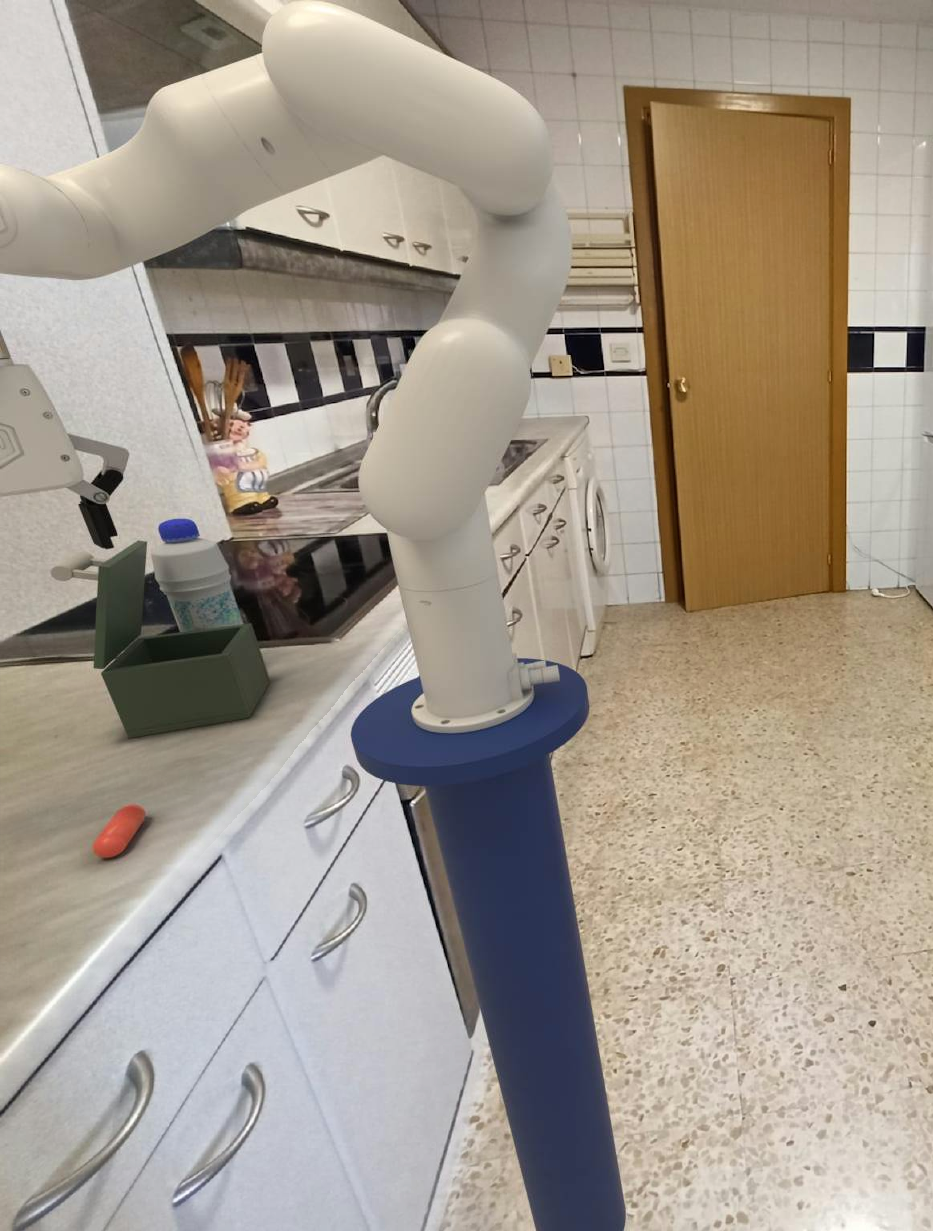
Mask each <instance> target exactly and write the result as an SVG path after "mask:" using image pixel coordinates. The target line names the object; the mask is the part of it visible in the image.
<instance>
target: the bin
mask: <svg viewBox="0 0 933 1231" xmlns="http://www.w3.org/2000/svg"><path fill="white" fill-rule="evenodd" d="M255 633H256V632H255V630H254V627H253V623H251V622H250V623H243V624H241V625H234V626H226V627H218V628H210V629H203V630H195V631H187V632H180V631H179V632H171V633H164V634H157V635H156V634H155V635H150V636H148V635H147V636H139V637H137V638H136V639H135V640H134V641H133V642H132V643H131V644H130V645H129V646H128V647H127V648H126V649H125V650H124V651H122V652H121V653H120V654H119V655H118V656H117V657H116V658H115V659H114V660H113V661H112V662H111V663H110V664H109V665H107V666H106V667H105V668H104V669H103V670H102V671H101V672H100V675H101V677H102V680H103V682H104V684H105V687H106V689H107V691H108V694H109V696H110V699H111V701H112V703H113V705H114V707H115V710H116V712H117V715H118V716H119V719H120V721H121V725H122V727H123V728H124V731H125V733H126V736H127V738H128V739H133V738H139V737H146V736H150V735H156V734H162V733H169V732H175V731H180V730H185V729H191V728H198V727H203V726H210V725H215V724H221V723H226V722H233V721H240V720H245V719H250V717H251V715H252V714H253V713H254V710H255V709H256V707H257V705H258V704H259V702H260V700H261V698H262V697H263V695H264V693H265V692H266V690H267V688H268V686H269V684H270V683H271V679H270V678H271V677H270V676H269V672H268V668H267V667H266V664H265V661H264V657H263V655H262V650H261V648H260V645H259V643H258V639H257V636H256V634H255Z"/></svg>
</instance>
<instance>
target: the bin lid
mask: <svg viewBox="0 0 933 1231" xmlns="http://www.w3.org/2000/svg"><path fill="white" fill-rule="evenodd" d="M147 550H148V542H147V541H146V540H136V541H134V542H133V543H131V544H129V546H127V547H126V548H124V549H122V550H121V551H119V552H117V553H116V554H115V555H113V556H112V557H110V558H108V559H103V558H98V557H97V558H96V557H94V556H93V555H92V554H91V553H89V552H86V551H79V552H77V553H74V554H73V555H72V556H70V557H69V558H66V559H65V560H63V561H62V562H59V563H58V564H56V565H55V566H53V567H52V568H51V569H50V572H49V574H50V576H51V577H52V578H53V579H54V580H56V581H59V582H67V581H69V580H71V579H73V578H74V579H82V580H90V581H97V587H96V588H97V589H96V609H95V628H94V647H93V648H94V650H93V667H92V668H93V669H96V670H104V669H106V668H107V667H108V666H109V665H110V664H111V663H112V662H113V661H114V660H115V659H116V658H117V657H118V656H119V655H120V654H122V653H123V652H124V651H125V650H126V649H127V648H128V647H129V646H130V645H131V644H132V643H133V642H134V641H136V639H138V638H140V637H141V635H142V626H143V610H144V597H145V596H144V595H145V579H146V567H147V553H148V552H147ZM90 567H97V568H98V570H97V571H93V570H92V571H90V570H87V569H88V568H90Z"/></svg>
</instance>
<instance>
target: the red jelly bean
mask: <svg viewBox="0 0 933 1231" xmlns="http://www.w3.org/2000/svg"><path fill="white" fill-rule="evenodd" d="M145 818H146V811H145V809H144V807H142V806H140V805H138V804H128V805H125V806H122V807H120V808H119V809H118V810H116V812H115V813H114V815H113V816H112V817H111V819H110V820H109V821H108V823H107V824H106V826H105V827H104V828H103V830H101V833H100V834H99V835H98V837H97V838H96V839H95V841H94V842H93V844H92V851H93V854H94V855H95V856H97V857H99V858H103V859H111V858H114V857H116V856H119V855H120V854H121V853H123V852H124V850H125V849H126V847H127V846H128V845H129V843H130V842H131V840H132V839H133V837H134V836H135V834H136V833H137V832H138V829H139V828H140V827H141V825H142V824H143V823H144V821H145Z"/></svg>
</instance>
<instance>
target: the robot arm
mask: <svg viewBox="0 0 933 1231" xmlns="http://www.w3.org/2000/svg"><path fill="white" fill-rule="evenodd" d="M261 38H262V39H261V52H260V53H258V54H255V55H253V56H249V57H246V58H244V59H241V60H238V61H235V62H232V63H229V64H227V65H224V66H221V67H218V68H215V69H212V70H209V71H207V72H204V73H201V74H198V75H195V76H192V77H189V78H186V79H183V80H180V81H177V82H174V83H171V84H168V85H166V86H164V87H163V86H162V87H161V88H160V89H159V90H158V91H156V92H155V93H154V95H153V96H152V97H151V99H150V100H149V102H148V104H147V107H146V112H145V115H144V119H143V122H142V124H141V126H140V128H139V130H137V132H136V133H135V135H133V137H132V138H131V139H129V140H128V141H127V142H125V143H124V144H122V145H121V146H120V147H118V148H116V149H114V150H112V151H109V152H108V153H105V154H104V155H102V156H99V157H97V158H94V159H92V160H89V161H87V162H84V163H81V164H79V165H76V166H73V167H70V168H68V169H67V168H66V169H64V170H62V171H59V172H56V173H53V174H51V175H46V176H43V175H40V174H37V173H35V172H30V171H27V170H23V169H20V168H16V167H13V166H10V165H7V164H4V163H0V274H3V275H11V276H18V277H19V276H20V277H30V278H39V279H40V278H42V279H43V278H44V279H45V278H46V279H58V280H65V281H87V280H95V279H98V278H102V277H105V276H108V275H111V274H115V273H118V272H120V271H123V270H126V269H128V268H131V267H134V266H136V265H138V264H141V263H143V262H146V261H149V260H151V259H153V258H156V257H158V256H161V255H163V254H166V253H169V252H171V251H173V250H175V249H178V248H179V247H182V246H184V245H186V244H189V243H190V242H192V241H194V240H196V239H198V238H200V237H202V236H204V235H206V234H207V233H210V232H211V231H213V230H214V229H217V228H219V227H221V226H223V225H225V224H228V223H230V222H232V221H234V220H236V219H237V218H238V217H240V216H241V215H242V214H244V213H245V212H248V211H249V210H252V209H253V208H257V207H258V206H260V205H263V204H266V203H268V202H270V201H273V200H275V199H278V198H280V197H283V196H285V195H288V194H290V193H292V192H295V191H299V190H301V189H303V188H306V187H308V186H310V185H313V184H316V183H318V182H321V181H323V180H326V179H328V178H330V177H334V176H337V175H339V174H342V173H345V172H347V171H349V170H352V169H354V168H356V167H359V166H362V165H364V164H367V163H369V162H372V161H373V160H376V159H378V158H381V157H382V156H384V157H386V158H389V159H391V160H394V161H396V162H399V163H401V164H403V165H405V166H407V167H411V168H413V169H415V170H418V171H420V172H423V173H425V174H427V175H430V176H433V177H434V178H437V179H440V180H442V181H445V182H447V183H450V184H452V185H455V186H456V187H457V189H458V190H459V192H460V193H461V194H462V195H463V196H464V197H465V199H466V200H467V201H468V202H469V204H470V205H471V206H472V208H473V210H474V213H475V216H476V222H477V233H476V234H477V235H476V238H475V242H474V244H473V247H472V249H471V252H470V254H469V256H468V258H467V260H466V263H465V264H464V267H463V269H462V272H461V275H460V277H459V280H458V282H457V284H456V287H455V289H454V290H453V293H452V294H451V296H450V299H449V301H448V303H447V305H446V307H445V309H444V310H443V312H442V315H441V316H440V319H439V320H438V322H437V323H436V325H434V326H433V327H430V328H429V329H428V330H427V331H426V332H425V333H424V334H423V335H422V336H421V337H420V339H419V340H418V341H417V344H416V345H415V347H414V349H413V351H412V353H411V355H410V357H409V359H408V361H407V363H406V366H405V367H404V369H403V372H402V374H401V377H400V378H399V381H398V383H397V384H396V387H395V389H394V391H393V394H392V396H391V398H390V400H389V402H388V405H387V407H386V408H385V412H384V413H383V415H382V417H381V420H380V422H379V424H378V426H377V429H376V430H375V433H374V434H373V437H372V439H371V442H369V446H368V448H367V450H366V452H365V454H364V456H363V458H362V460H361V463H360V466H359V471H358V477H357V478H358V479H357V480H358V481H357V484H358V491H359V495H360V499H361V501H362V503H363V505H364V507H365V508H366V510H367V512H368V513H369V515H370V516H371V517H372V518H373V520H375V521H376V522H377V523H378V525H380V526H381V527H383V528H385V529H386V535H387V540H388V545H389V550H390V556H391V559H392V563H393V564H392V565H393V569H394V573H395V577H396V581H397V586H398V590H399V593H400V594H399V595H400V598H401V603H402V608H403V612H404V616H405V619H406V620H405V621H406V624H407V628H408V632H409V636H410V641H411V645H412V649H413V653H414V657H415V663H416V667H417V670H418V675H419V677H420V679H421V683H422V688H423V692H424V693H423V694H422V695H421V696H419V698H418V699H417V700H416V701H415V702H414V704H413V706H412V711H411V713H412V716H413V720H414V722H415V723H416V725H417V726H419V727H420V728H422V729H424V730H427V731H430V732H436V733H446V734H455V733H466V732H473V731H478V730H482V729H486V728H490V727H493V726H496V725H499V724H501V723H504V722H506V721H508V720H510V719H512V718H514V717H516V716H517V715H519V714H520V713H522V712H523V711H524V710H525V709H526V708H527V707H528V706H529V705H530V704H531V703H532V701H533V699H534V688H533V685H537V684H543V683H544V684H547V683H553V682H558V681H560V677H559V671H558V666H557V665H555V666H549V667H546V662H545V661H539V662H534V663H530V664H524V662H522V663H518V660H517V658H518V656H517V652H513V648H512V642H511V636H510V631H509V626H508V620H507V614H506V609H505V603H504V598H503V592H502V587H501V586H502V585H501V580H500V574H499V568H498V562H497V557H496V551H495V546H494V539H493V534H492V529H491V522H490V517H489V509H488V503H487V496H486V492H487V490H488V489H489V486H490V485H491V482H492V480H493V478H494V476H495V474H496V472H497V470H498V468H499V466H500V464H501V462H502V460H503V458H504V456H505V454H506V452H507V449H508V448H509V446H510V443H511V442H512V439H513V437H514V435H515V433H516V431H517V429H518V427H519V425H520V423H521V420H522V419H523V417H524V414H525V411H526V409H527V406H528V403H529V400H530V396H531V391H532V375H531V368H532V366H533V363H534V361H535V359H536V357H537V355H538V352H539V351H540V349H541V346H542V344H543V342H544V340H545V338H546V335H547V333H548V331H549V328H550V327H551V324H552V321H553V319H554V316H555V314H556V312H557V309H558V308H559V305H560V302H561V300H562V298H563V295H564V293H565V290H566V287H567V285H568V282H569V278H570V274H571V271H572V270H571V269H572V263H573V237H572V236H573V235H572V230H571V225H570V220H569V215H568V212H567V209H566V206H565V204H564V203H565V202H564V200H563V199H562V196H561V194H560V192H559V189H558V187H557V185H556V183H555V181H554V179H553V177H552V176H553V172H554V164H555V157H554V156H555V154H554V145H553V141H552V138H551V134H550V132H549V130H548V129H549V128H548V127H547V125H546V123H545V120H543V118H542V116H541V115H540V113H539V112H538V110H537V109H536V108H535V107H534V106H533V105H532V104H531V103H530V102H529V101H528V99H527V98H525V97H524V96H523V95H522V94H520V93H519V92H518V91H517V90H516V89H513V88H512V87H511V86H509V85H508V84H506V83H504V82H503V81H501V80H499V79H497V78H495V77H493V76H491V75H489V74H487V73H485V72H483V71H481V70H479V69H477V68H475V67H472V66H470V65H468V64H466V63H463V62H461V61H459V60H457V59H455V58H453V57H451V56H449V55H447V54H444V53H442V52H440V51H438V50H436V49H434V48H432V47H430V46H427V45H426V44H423V43H421V42H420V41H418V40H415V39H413V38H412V37H409V36H406V35H405V34H402V33H400V32H398V31H397V30H395V29H392V28H390V27H388V26H386V25H384V24H382V23H380V22H377V21H376V20H373V19H372V18H369V17H367V16H364V15H362V14H360V13H358V12H356V11H353V10H351V9H348V8H346V7H343V6H340V5H339V4H334V3H331V2H327V1H323V0H295V1H292V2H290V3H287V4H285V5H282V6H281V7H279V9H277V10H276V11H275V12H274V13H272V15H271V16H270V18H269V19H268V21H267V22H266V24H265V27H264V30H263V34H262V36H261ZM77 451H79V452H83V453H86V454H90V455H93V456H94V455H96V456H99V457H101V458H102V460H103V463H102V468H101V469H100V471H99V472H98V474H97V475H96V476H95V477H94V479H93V480H92V481H91V482H88V480H87V481H86V480H85V479H84V477H85V473H84V469H83V466H82V463H81V460H80V458H79V455H78V453H77ZM129 458H130V452H129V450H128V449H126V448H125V447H121V446H118V445H114V444H111V443H107V442H103V441H99V440H95V439H91V438H87V437H83V436H80V435H76V434H72V433H68V432H67V429H66V427H65V425H64V423H63V421H62V419H61V417H60V415H59V413H58V411H57V410H56V407H55V405H54V403H53V402H52V400H51V398H50V396H49V395H48V392H47V390H46V389H45V387H44V386H43V384H42V383H41V380H40V379H39V377H38V376H37V375H36V373H35V372H34V370H33V369H32V368H31V366H30V365H29V364H27V363H26V364H25V363H14V361H13V358H12V355H11V353H10V350H9V348H8V346H7V344H6V341H5V339H4V336H3V334H2V332H1V330H0V498H3V497H10V496H17V495H26V494H34V493H40V492H47V491H48V492H49V491H54V490H61V489H65V488H66V489H67V490H70V492H73V493H75V494H77V495H79V498H80V501H79V503H78V504H77V506H78V509H79V510H80V512H81V516H82V518H83V520H84V523H85V526H86V529H87V530H88V533H89V536H90V538H91V540H92V543H93V544H94V545H96V546H97V547H99V548H101V549H105V550H111V549H114V548H115V546H114V543H113V540H112V538H113V537H118V531H117V528H116V526H115V524H114V521H113V518H112V515H111V513H110V510H109V507H108V505H107V503H108V502H109V501H110V497H111V496H112V494H114V492H115V491H116V489H117V488H118V487H119V486H120V484H121V483H122V482H123V481H124V473H125V471H126V467H127V465H128V461H129Z"/></svg>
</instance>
